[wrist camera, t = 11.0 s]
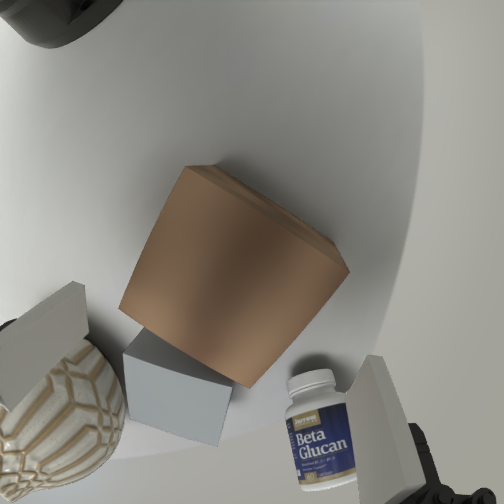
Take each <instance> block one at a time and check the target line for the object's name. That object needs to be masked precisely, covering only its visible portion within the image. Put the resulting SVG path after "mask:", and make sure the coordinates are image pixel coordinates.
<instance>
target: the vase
mask: <svg viewBox="0 0 504 504" xmlns="http://www.w3.org/2000/svg"><path fill="white" fill-rule="evenodd" d="M124 420H125V404H124V396H123V392H122V389H121V386H120V383H119V380H118V378H117V376H116V374H115V372H114V370H113V368H112V367H111V365H110V363H109V362H108V360H107V359H106V358H105V356H104V355H103V354H102V353H101V352H100V350H99V349H98V348H97V347H95V346H94V345H93V344H92V343H91V342H90V341H88V340H87V339H85V338H83V339H82V340H81V341H80V342H78V343H77V344H76V345H75V346H74V347H73V348H72V349H71V350H70V351H69V352H68V353H67V354H66V355H65V356H64V357H63V358H62V359H61V360H60V361H59V362H58V363H57V364H56V365H55V366H54V367H53V368H52V369H51V370H50V371H49V372H48V373H47V374H46V376H45V377H44V378H43V379H42V380H41V381H40V382H39V383H38V384H37V385H36V386H35V387H34V388H33V389H32V390H31V391H30V392H29V393H28V394H27V395H26V397H25V398H24V399H23V400H22V401H21V402H20V403H19V404H18V405H17V406H16V407H15V408H14V410H13V411H12V412H11V413H10V412H8V411H7V410H6V409H5V408H4V407H2V406H1V405H0V495H1V496H2V497H3V498H5V499H6V500H7V501H8V502H10V503H13V502H15V501H17V500H19V499H20V498H22V497H24V496H25V495H27V494H30V493H32V492H34V491H39V490H44V489H51V488H56V487H61V486H64V485H68V484H70V483H74V482H76V481H79V480H81V479H83V478H85V477H87V476H88V475H90V474H91V473H93V472H94V471H95V470H97V469H98V468H99V467H101V466H102V465H103V464H104V463H105V462H106V461H107V460H108V459H109V458H110V457H111V455H112V454H113V453H114V451H115V449H116V447H117V445H118V443H119V441H120V438H121V435H122V431H123V428H124Z"/></svg>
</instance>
